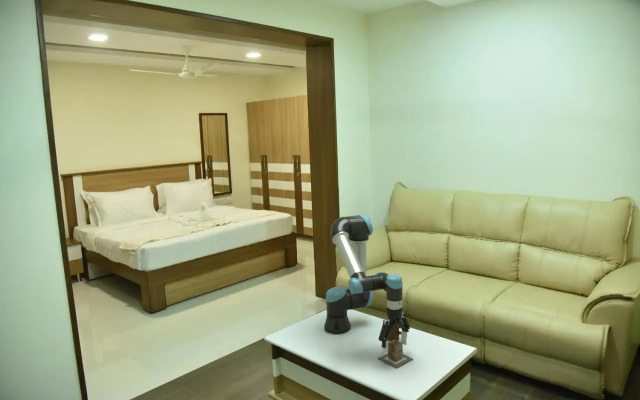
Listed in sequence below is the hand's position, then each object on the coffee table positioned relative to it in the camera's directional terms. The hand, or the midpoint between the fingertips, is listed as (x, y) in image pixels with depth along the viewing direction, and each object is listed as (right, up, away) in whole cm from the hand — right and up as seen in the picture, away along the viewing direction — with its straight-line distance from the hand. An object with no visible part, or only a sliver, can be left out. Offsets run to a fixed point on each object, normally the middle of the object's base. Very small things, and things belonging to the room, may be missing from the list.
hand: (394, 348), depth 215 cm
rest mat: (0, -5, 0) cm, 6 cm away
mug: (+4, -3, +21) cm, 22 cm away
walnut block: (0, -5, 0) cm, 5 cm away
